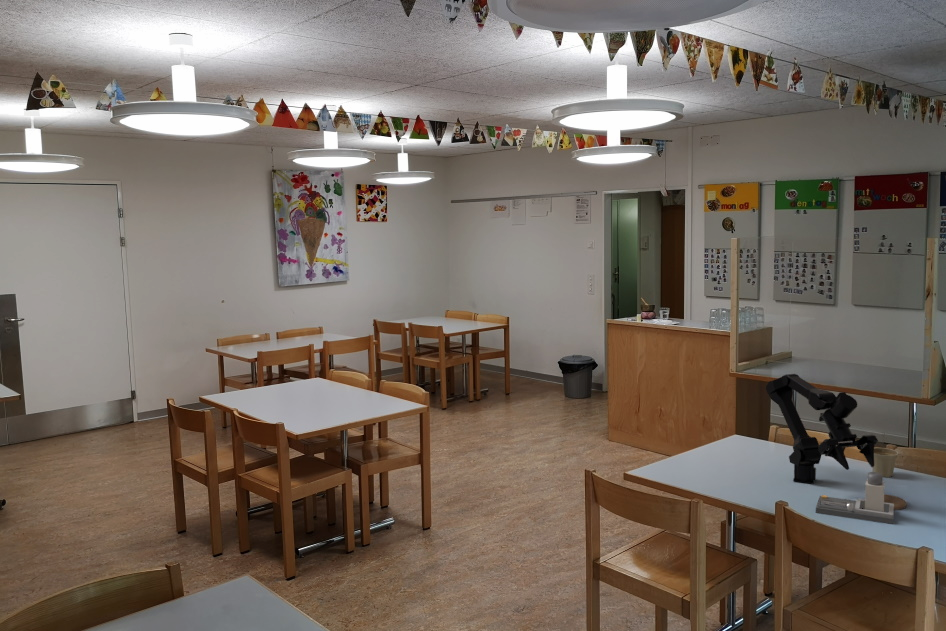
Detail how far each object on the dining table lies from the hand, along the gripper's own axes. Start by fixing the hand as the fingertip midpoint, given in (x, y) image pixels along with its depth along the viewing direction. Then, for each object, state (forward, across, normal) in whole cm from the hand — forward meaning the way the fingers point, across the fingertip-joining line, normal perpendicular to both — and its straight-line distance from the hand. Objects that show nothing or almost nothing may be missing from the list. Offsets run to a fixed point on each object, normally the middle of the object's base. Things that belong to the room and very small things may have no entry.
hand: (860, 468), depth 236 cm
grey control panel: (+11, +4, -7) cm, 14 cm away
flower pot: (-8, -30, -27) cm, 41 cm away
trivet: (+9, -10, -10) cm, 17 cm away
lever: (+11, +11, -8) cm, 17 cm away
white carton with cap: (+14, 0, -5) cm, 14 cm away
